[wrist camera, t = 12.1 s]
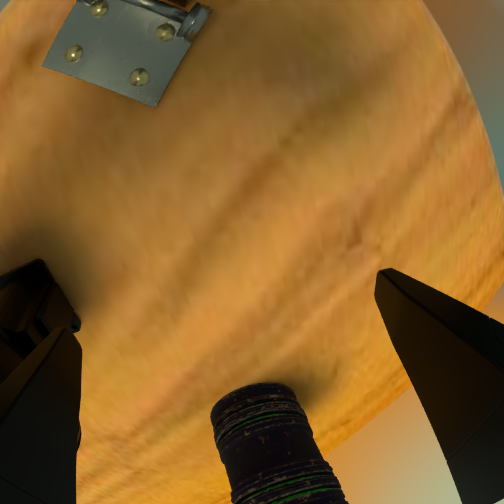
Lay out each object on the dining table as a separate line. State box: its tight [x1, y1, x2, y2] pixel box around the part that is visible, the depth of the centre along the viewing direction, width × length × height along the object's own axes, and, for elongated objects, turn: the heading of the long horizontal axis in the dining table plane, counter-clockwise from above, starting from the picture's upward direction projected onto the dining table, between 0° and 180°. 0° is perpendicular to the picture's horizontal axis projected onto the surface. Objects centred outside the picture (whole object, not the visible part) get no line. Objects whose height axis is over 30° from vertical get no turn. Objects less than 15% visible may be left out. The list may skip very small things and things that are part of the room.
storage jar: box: [210, 383, 349, 504], centre depth 25 cm, size 10×10×15 cm
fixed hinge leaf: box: [42, 0, 213, 108], centre depth 13 cm, size 7×8×2 cm
